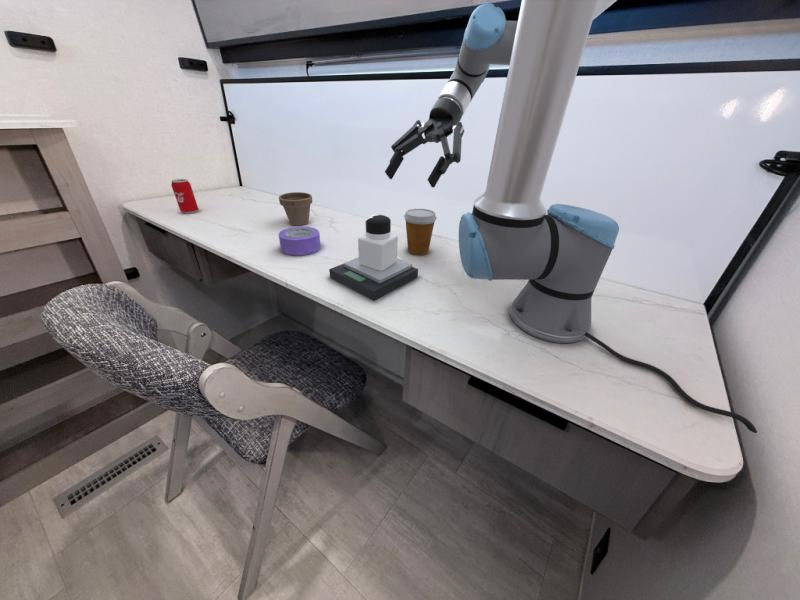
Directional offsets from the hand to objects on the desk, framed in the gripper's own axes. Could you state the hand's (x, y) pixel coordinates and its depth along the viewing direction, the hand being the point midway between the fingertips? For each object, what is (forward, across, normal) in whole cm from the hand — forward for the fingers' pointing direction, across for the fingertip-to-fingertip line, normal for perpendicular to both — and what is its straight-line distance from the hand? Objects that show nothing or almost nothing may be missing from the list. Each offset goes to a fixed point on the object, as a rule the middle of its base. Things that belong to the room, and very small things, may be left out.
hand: (408, 179), depth 74 cm
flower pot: (+17, +51, -15) cm, 56 cm away
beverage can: (+33, +93, +1) cm, 99 cm away
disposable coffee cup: (+9, +3, -23) cm, 25 cm away
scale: (+24, 0, -8) cm, 26 cm away
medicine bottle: (+21, 0, -6) cm, 22 cm away
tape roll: (+26, +30, -6) cm, 40 cm away
